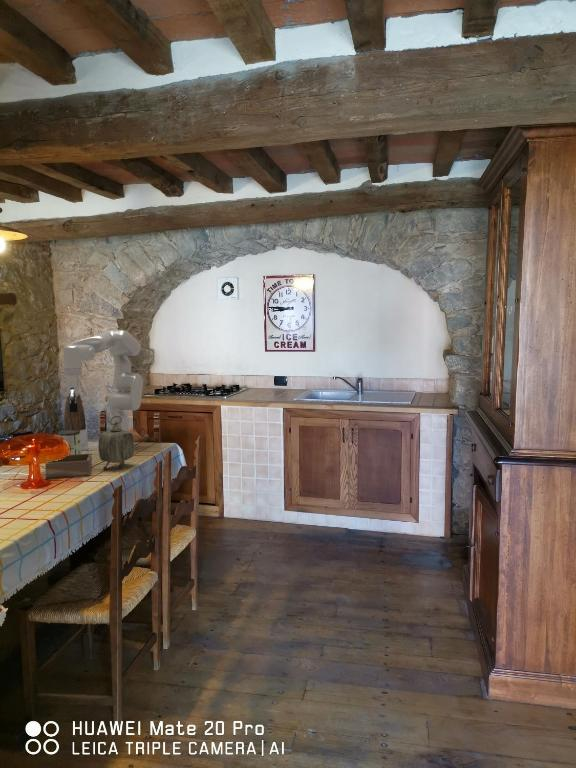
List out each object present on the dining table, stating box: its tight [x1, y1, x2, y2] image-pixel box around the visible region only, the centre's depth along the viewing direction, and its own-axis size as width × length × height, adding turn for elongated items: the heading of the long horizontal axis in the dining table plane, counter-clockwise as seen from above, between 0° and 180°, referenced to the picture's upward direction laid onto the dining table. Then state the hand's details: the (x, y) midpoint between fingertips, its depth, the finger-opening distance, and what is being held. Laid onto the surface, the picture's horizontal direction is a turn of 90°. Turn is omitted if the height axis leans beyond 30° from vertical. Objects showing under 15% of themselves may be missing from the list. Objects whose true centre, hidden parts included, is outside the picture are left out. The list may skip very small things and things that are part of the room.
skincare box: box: [80, 421, 89, 452], centre depth 283 cm, size 8×7×16 cm
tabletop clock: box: [97, 416, 135, 470], centre depth 247 cm, size 14×9×25 cm, turn 149°
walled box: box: [44, 453, 93, 480], centre depth 239 cm, size 14×18×7 cm
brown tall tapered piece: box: [63, 393, 86, 431], centre depth 243 cm, size 9×8×25 cm
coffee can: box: [57, 429, 82, 455], centre depth 266 cm, size 10×10×14 cm
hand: (74, 410), depth 243 cm, fingers closed on brown tall tapered piece, 5 cm apart
